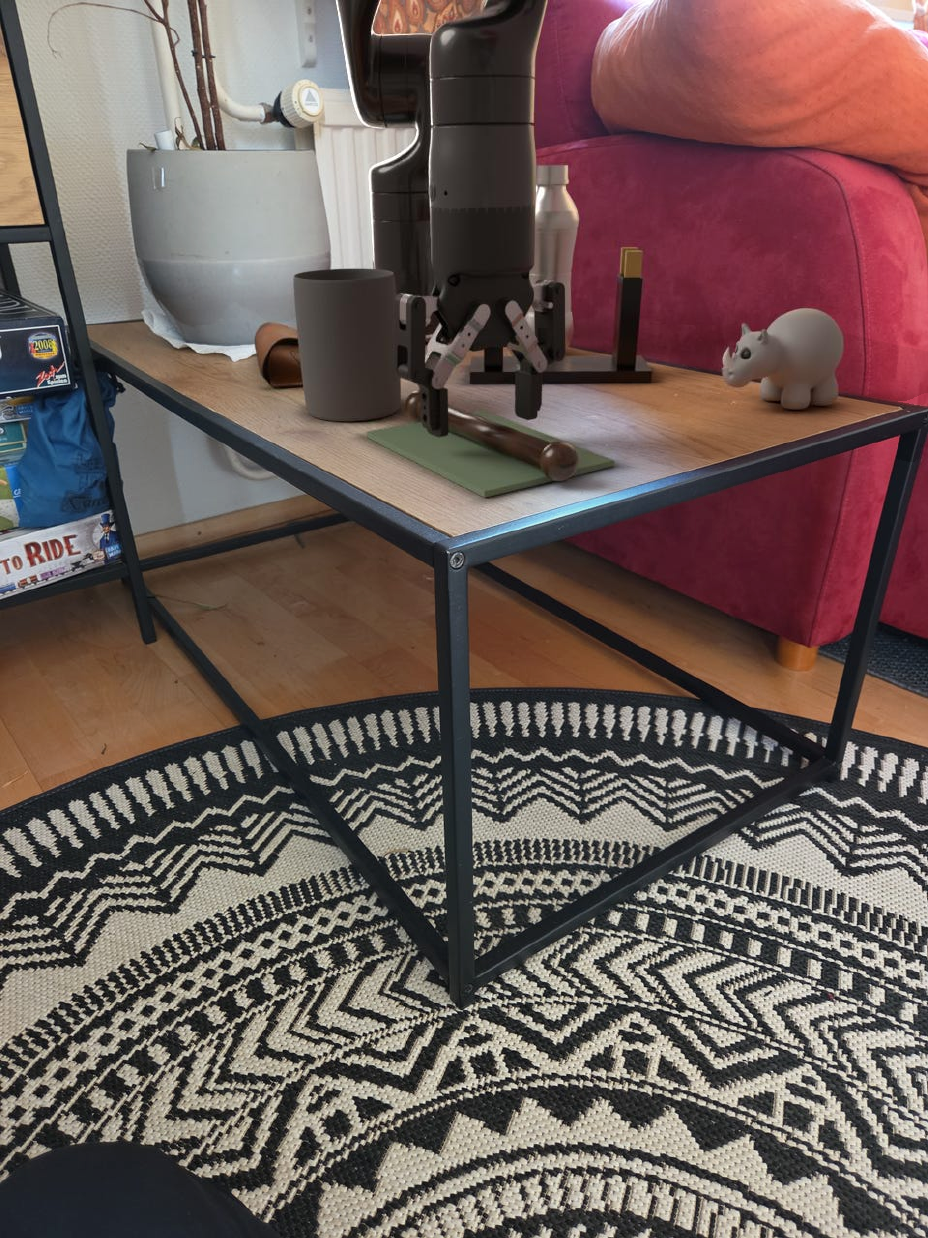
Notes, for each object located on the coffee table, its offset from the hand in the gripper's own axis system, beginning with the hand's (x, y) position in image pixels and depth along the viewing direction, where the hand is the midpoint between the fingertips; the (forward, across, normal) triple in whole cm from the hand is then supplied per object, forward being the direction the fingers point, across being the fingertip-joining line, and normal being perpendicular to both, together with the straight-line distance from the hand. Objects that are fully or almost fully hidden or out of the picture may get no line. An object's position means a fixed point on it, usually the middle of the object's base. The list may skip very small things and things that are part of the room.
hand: (483, 425), depth 68 cm
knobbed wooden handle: (0, 0, 0) cm, 0 cm away
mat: (+2, 0, 0) cm, 2 cm away
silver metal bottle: (+2, +28, +28) cm, 40 cm away
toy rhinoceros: (+2, +30, -4) cm, 30 cm away
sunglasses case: (+2, 0, +38) cm, 38 cm away
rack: (+2, +22, +18) cm, 29 cm away
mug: (+2, -2, +20) cm, 20 cm away
